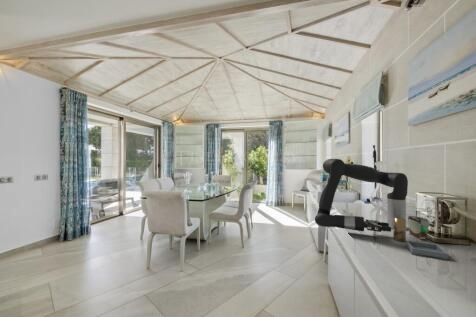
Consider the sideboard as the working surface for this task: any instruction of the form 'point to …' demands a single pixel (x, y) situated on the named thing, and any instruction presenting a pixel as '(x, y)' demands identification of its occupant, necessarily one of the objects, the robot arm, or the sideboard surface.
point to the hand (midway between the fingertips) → (389, 227)
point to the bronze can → (399, 229)
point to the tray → (426, 250)
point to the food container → (418, 227)
